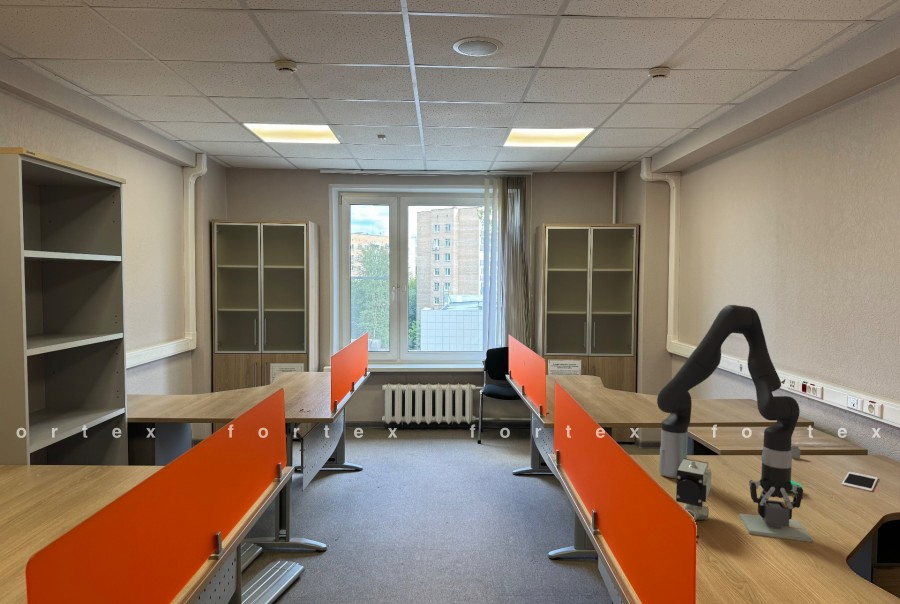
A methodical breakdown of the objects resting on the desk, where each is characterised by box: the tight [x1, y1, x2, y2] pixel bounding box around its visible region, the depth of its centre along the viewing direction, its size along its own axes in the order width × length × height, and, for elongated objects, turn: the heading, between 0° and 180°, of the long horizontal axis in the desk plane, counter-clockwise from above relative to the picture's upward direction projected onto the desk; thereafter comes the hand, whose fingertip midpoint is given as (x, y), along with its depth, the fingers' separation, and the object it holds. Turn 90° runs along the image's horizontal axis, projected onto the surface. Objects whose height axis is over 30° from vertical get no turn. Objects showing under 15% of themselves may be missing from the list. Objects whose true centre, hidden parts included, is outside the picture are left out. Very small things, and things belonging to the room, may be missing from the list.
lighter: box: [791, 444, 801, 460], centre depth 224 cm, size 7×2×8 cm, turn 59°
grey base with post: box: [739, 503, 813, 543], centre depth 159 cm, size 16×12×7 cm
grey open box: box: [762, 499, 790, 527], centre depth 159 cm, size 6×6×5 cm
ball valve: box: [675, 458, 712, 521], centre depth 165 cm, size 18×8×18 cm, turn 148°
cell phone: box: [841, 471, 879, 493], centre depth 198 cm, size 9×18×1 cm, turn 136°
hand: (774, 518), depth 159 cm, fingers closed on grey open box, 6 cm apart
